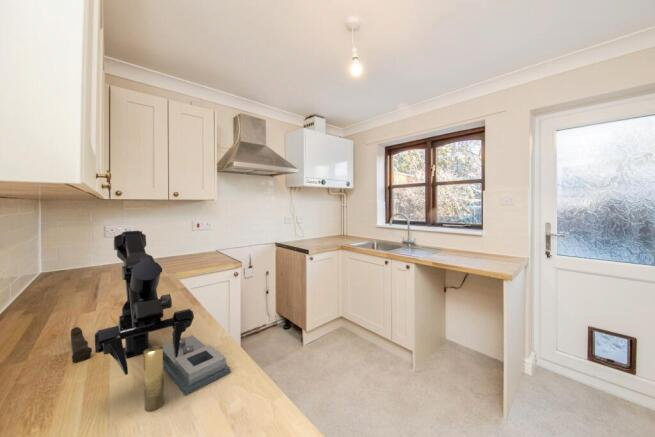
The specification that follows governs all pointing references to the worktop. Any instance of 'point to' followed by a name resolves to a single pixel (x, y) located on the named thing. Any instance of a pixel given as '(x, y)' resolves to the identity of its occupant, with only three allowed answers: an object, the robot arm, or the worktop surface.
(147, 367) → the pin
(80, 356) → the hand tool
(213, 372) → the tiered gray console
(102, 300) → the worktop surface
